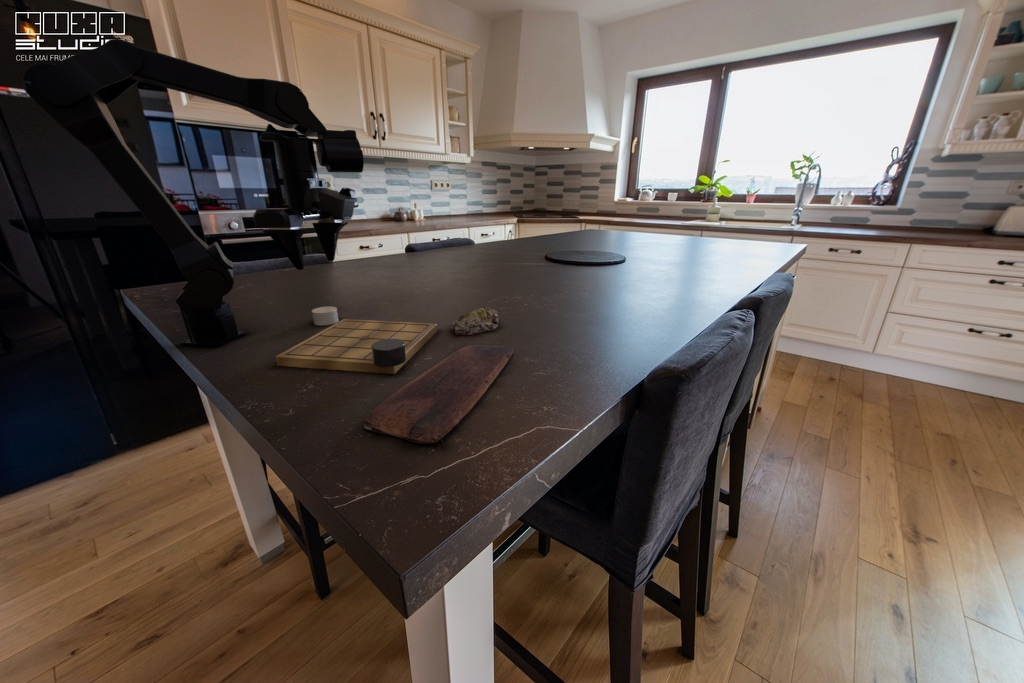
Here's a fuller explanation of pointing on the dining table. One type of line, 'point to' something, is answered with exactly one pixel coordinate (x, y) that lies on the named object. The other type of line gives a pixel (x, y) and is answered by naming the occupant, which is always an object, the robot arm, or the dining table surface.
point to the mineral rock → (476, 322)
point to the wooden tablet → (439, 395)
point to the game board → (355, 345)
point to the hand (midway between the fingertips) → (316, 264)
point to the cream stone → (325, 316)
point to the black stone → (388, 352)
